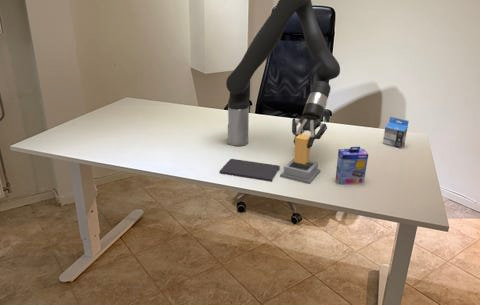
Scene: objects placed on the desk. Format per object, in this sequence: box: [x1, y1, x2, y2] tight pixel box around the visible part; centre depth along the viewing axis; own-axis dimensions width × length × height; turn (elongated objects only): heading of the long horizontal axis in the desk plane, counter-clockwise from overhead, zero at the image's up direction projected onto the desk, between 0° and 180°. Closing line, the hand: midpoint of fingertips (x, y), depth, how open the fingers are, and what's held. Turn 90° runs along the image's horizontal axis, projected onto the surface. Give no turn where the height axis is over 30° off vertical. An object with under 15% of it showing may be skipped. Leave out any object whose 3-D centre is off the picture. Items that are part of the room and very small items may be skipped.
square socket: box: [279, 158, 322, 185], centre depth 153 cm, size 12×12×4 cm
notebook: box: [219, 158, 281, 183], centre depth 156 cm, size 13×2×21 cm
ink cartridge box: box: [335, 146, 369, 185], centre depth 146 cm, size 10×6×14 cm, turn 95°
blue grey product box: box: [382, 116, 409, 149], centre depth 179 cm, size 9×4×12 cm, turn 47°
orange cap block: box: [293, 133, 311, 164], centre depth 149 cm, size 4×4×10 cm
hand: (301, 146), depth 148 cm, fingers closed on orange cap block, 4 cm apart
